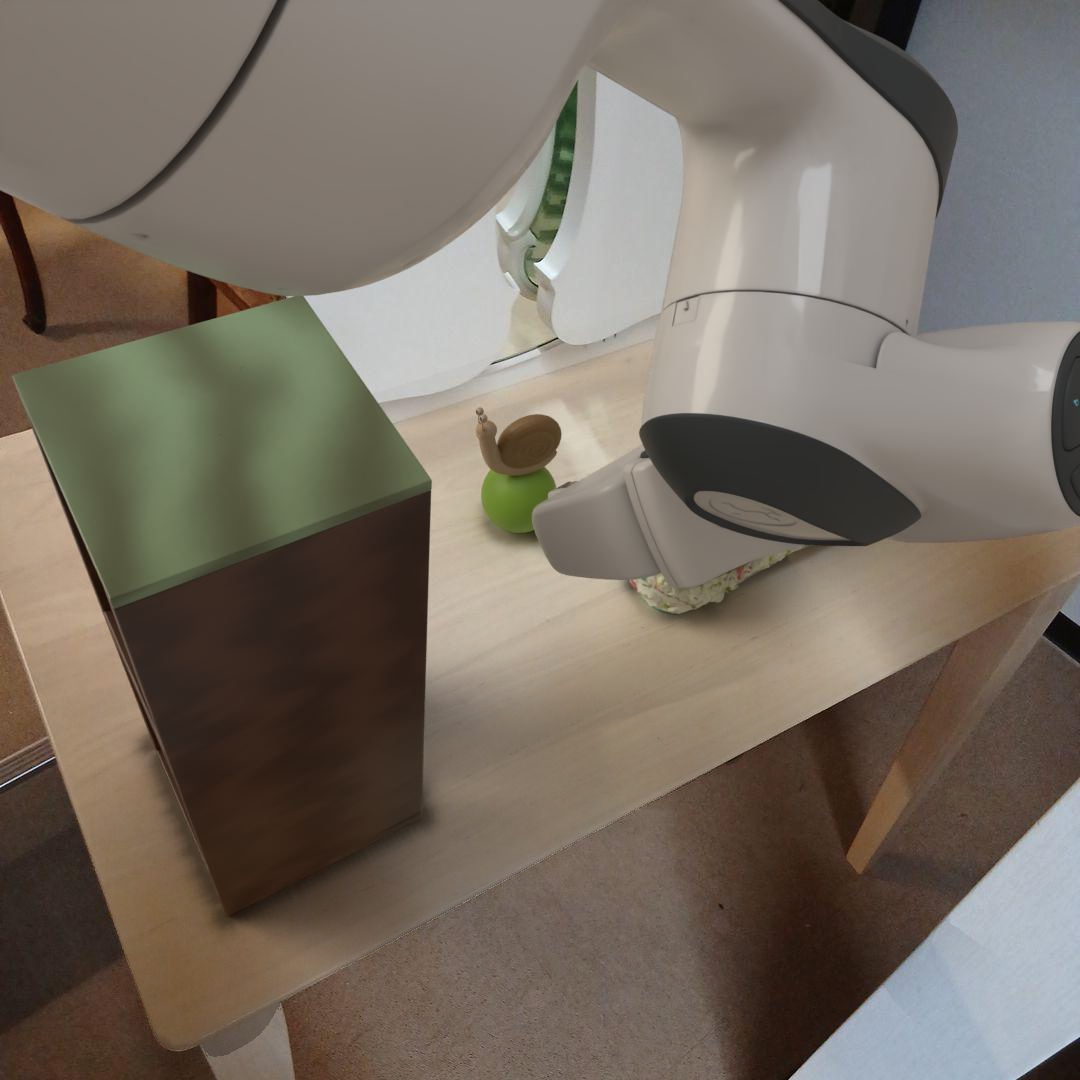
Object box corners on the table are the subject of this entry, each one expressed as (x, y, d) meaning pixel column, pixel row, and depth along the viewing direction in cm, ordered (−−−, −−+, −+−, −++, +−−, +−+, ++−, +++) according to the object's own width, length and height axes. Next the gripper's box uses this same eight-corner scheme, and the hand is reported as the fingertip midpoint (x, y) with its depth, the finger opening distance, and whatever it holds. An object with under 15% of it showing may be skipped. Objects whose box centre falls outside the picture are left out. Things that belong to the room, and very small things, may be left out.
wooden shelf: (226, 917, 59) (109, 599, 35) (153, 744, 64) (11, 374, 41) (422, 818, 63) (432, 479, 40) (336, 665, 69) (302, 293, 46)
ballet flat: (895, 489, 84) (934, 418, 78) (695, 665, 72) (723, 596, 66) (801, 423, 88) (831, 351, 82) (596, 580, 76) (613, 508, 70)
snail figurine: (455, 504, 79) (462, 384, 69) (535, 484, 81) (552, 365, 71) (482, 559, 76) (493, 442, 66) (564, 537, 78) (586, 420, 68)
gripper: (896, 314, 56) (720, 352, 68) (612, 481, 47) (465, 491, 58) (931, 424, 58) (753, 442, 69) (664, 608, 48) (510, 593, 60)
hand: (620, 466), depth 64 cm, fingers open, 8 cm apart
